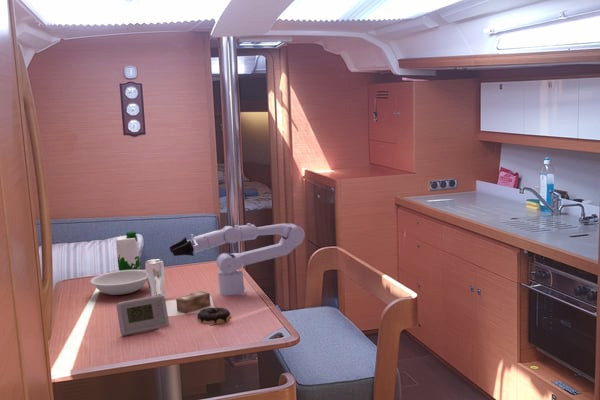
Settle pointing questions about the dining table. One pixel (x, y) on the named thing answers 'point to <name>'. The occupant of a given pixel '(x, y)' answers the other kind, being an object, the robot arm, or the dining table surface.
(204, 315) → the donut
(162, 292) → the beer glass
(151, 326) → the digital clock
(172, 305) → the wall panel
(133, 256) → the milk carton
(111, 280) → the soup bowl
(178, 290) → the dining table surface
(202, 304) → the brown rectangular box
